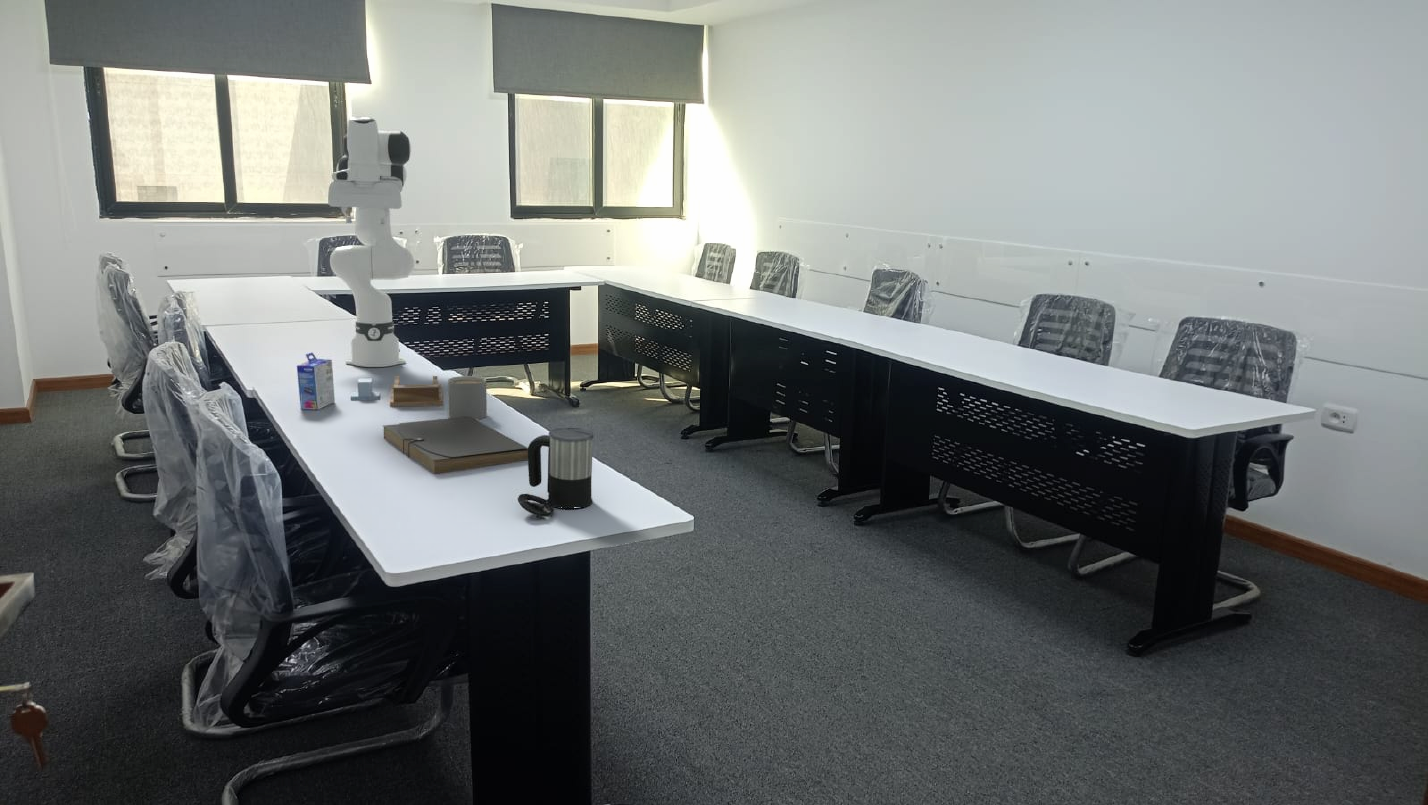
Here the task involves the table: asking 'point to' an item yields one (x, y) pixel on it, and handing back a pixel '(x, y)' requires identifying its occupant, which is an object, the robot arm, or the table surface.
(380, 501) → the table surface
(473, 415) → the coffee mug
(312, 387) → the ink cartridge box
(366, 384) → the grey flanged pedestal
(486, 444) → the file folder
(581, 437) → the milk frother
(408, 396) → the wooden tray
